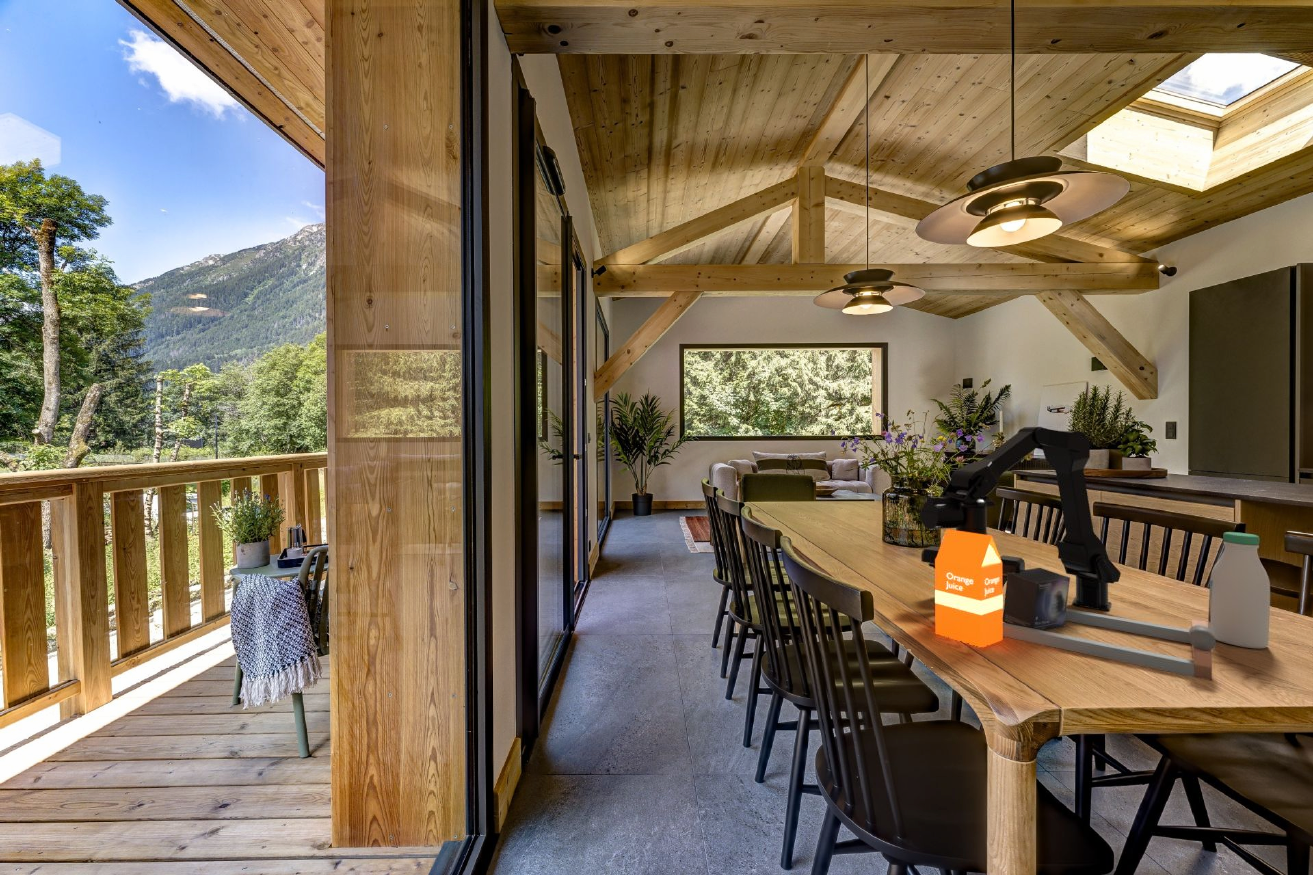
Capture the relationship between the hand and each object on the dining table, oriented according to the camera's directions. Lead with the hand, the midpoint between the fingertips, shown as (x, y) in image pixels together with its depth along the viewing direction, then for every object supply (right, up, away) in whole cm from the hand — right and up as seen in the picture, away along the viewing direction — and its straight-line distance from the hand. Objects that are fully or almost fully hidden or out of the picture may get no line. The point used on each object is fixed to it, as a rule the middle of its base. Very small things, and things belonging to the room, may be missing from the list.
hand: (971, 599), depth 119 cm
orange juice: (-8, -3, -13) cm, 16 cm away
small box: (+8, -3, -8) cm, 12 cm away
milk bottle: (+40, -3, -17) cm, 43 cm away
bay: (+15, -3, -15) cm, 21 cm away
